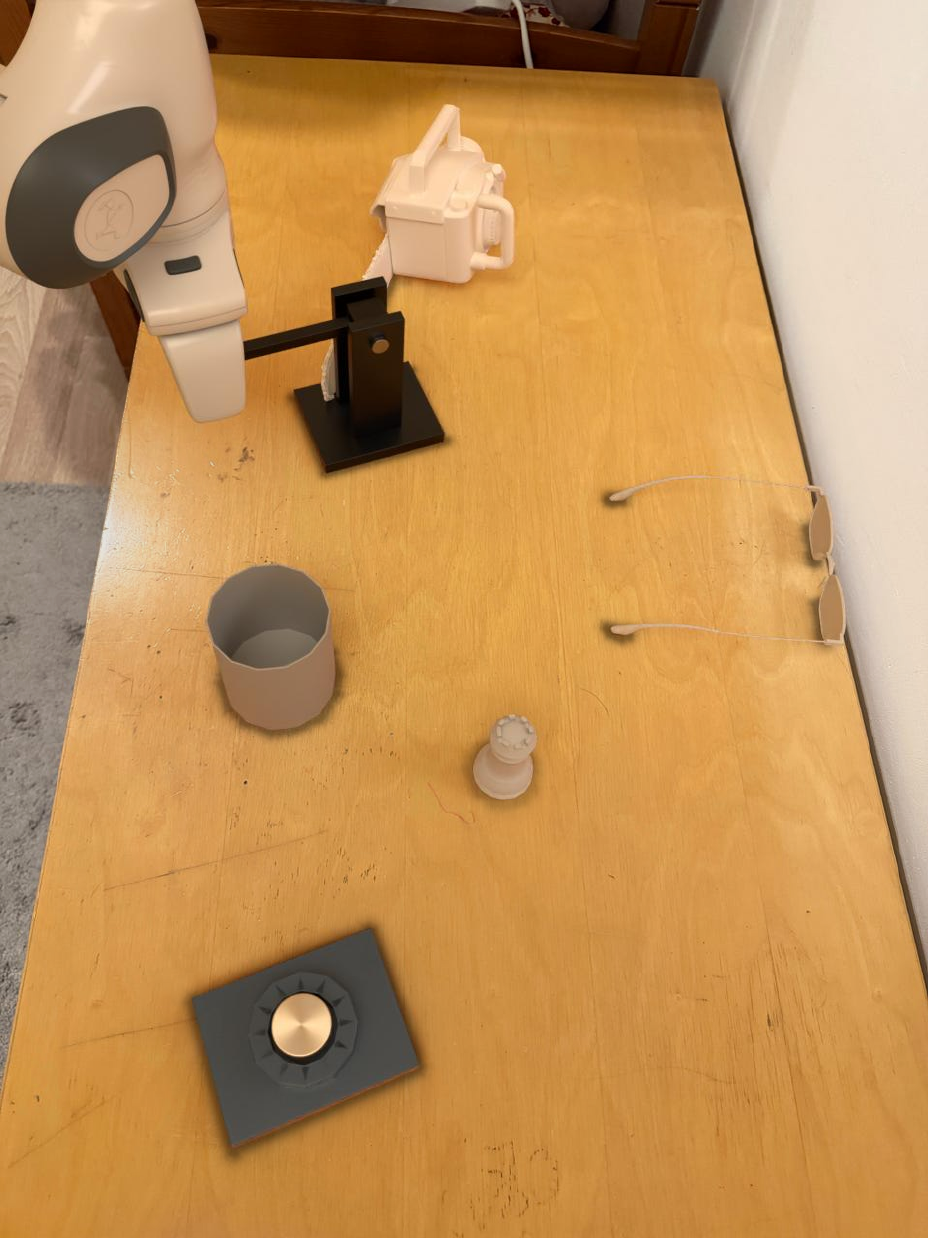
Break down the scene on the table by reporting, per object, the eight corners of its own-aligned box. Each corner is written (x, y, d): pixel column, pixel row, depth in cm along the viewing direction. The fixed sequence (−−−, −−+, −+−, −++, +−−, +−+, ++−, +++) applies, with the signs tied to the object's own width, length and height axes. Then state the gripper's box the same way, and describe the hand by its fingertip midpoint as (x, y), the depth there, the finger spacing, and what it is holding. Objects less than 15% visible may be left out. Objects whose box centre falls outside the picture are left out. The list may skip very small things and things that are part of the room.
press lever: (195, 403, 76) (189, 381, 74) (176, 351, 79) (170, 329, 77) (396, 351, 80) (396, 329, 78) (372, 303, 83) (372, 280, 81)
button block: (235, 1148, 62) (227, 1146, 58) (196, 1003, 66) (186, 993, 62) (418, 1068, 65) (420, 1062, 61) (370, 934, 69) (370, 921, 65)
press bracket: (326, 474, 87) (318, 360, 75) (294, 398, 91) (281, 278, 79) (444, 441, 90) (454, 327, 78) (408, 369, 94) (413, 249, 82)
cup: (206, 709, 76) (184, 647, 67) (250, 619, 80) (235, 549, 71) (312, 743, 75) (304, 685, 66) (351, 651, 79) (348, 584, 70)
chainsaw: (296, 409, 91) (269, 297, 80) (410, 179, 109) (399, 62, 98) (459, 438, 88) (452, 326, 78) (547, 197, 106) (551, 79, 96)
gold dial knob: (283, 1070, 61) (281, 1067, 59) (266, 1011, 62) (263, 1006, 61) (340, 1046, 62) (339, 1042, 60) (322, 988, 63) (320, 983, 62)
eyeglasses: (830, 664, 82) (850, 641, 78) (609, 644, 81) (620, 619, 78) (810, 509, 89) (827, 482, 86) (608, 489, 89) (617, 461, 85)
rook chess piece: (471, 800, 74) (481, 760, 67) (473, 743, 76) (482, 698, 69) (531, 803, 74) (548, 764, 67) (532, 747, 76) (547, 703, 69)
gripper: (78, 129, 69) (120, 287, 81) (152, 338, 60) (186, 480, 72) (170, 114, 71) (197, 271, 83) (255, 315, 62) (272, 458, 74)
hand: (193, 370), depth 77 cm, fingers closed on press lever, 5 cm apart
